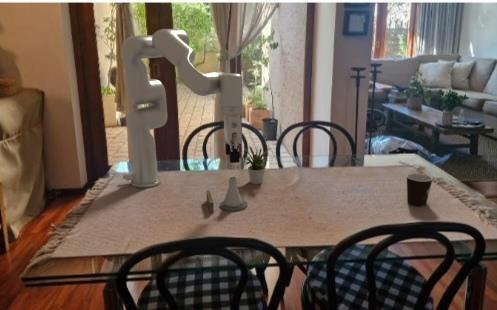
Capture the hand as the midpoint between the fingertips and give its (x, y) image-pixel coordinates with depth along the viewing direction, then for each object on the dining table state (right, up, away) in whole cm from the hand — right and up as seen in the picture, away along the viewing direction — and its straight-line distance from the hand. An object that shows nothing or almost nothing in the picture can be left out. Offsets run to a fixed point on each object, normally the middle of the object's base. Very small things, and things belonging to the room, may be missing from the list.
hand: (232, 158), depth 149 cm
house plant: (+8, -10, +29) cm, 32 cm away
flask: (0, -17, +5) cm, 18 cm away
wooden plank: (-8, -17, +4) cm, 20 cm away
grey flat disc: (0, -17, +5) cm, 18 cm away
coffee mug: (+68, -16, +6) cm, 71 cm away
